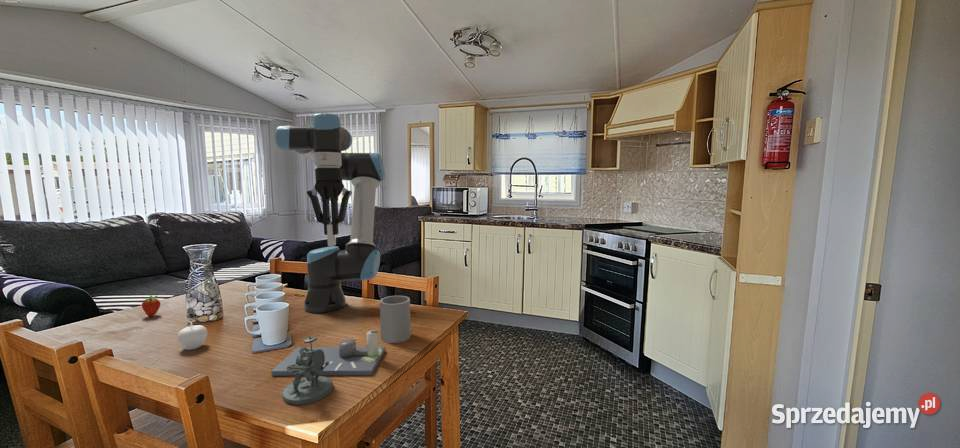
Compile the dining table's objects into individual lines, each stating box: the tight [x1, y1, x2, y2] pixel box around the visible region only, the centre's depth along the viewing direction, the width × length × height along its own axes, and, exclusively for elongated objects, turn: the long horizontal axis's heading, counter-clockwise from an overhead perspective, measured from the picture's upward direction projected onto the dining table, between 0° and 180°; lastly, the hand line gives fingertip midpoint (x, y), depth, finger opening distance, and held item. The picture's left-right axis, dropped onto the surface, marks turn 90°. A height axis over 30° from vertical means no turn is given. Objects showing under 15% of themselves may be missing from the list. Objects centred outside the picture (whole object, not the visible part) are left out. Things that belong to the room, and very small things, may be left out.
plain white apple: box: [177, 321, 208, 351], centre depth 111 cm, size 7×7×8 cm
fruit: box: [141, 294, 161, 317], centre depth 137 cm, size 5×5×8 cm
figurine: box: [281, 335, 334, 406], centre depth 87 cm, size 11×11×12 cm
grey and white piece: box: [338, 329, 379, 357], centre depth 103 cm, size 11×4×6 cm, turn 88°
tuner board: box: [270, 346, 386, 377], centre depth 102 cm, size 14×25×1 cm, turn 90°
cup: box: [379, 295, 412, 344], centre depth 118 cm, size 9×9×12 cm
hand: (331, 245), depth 115 cm, fingers closed
